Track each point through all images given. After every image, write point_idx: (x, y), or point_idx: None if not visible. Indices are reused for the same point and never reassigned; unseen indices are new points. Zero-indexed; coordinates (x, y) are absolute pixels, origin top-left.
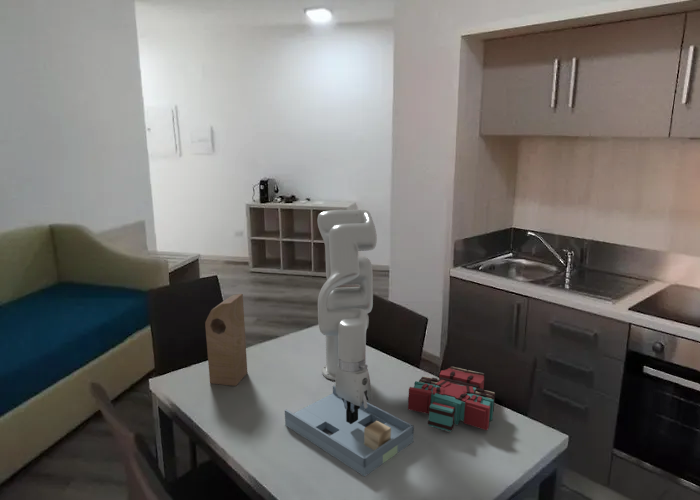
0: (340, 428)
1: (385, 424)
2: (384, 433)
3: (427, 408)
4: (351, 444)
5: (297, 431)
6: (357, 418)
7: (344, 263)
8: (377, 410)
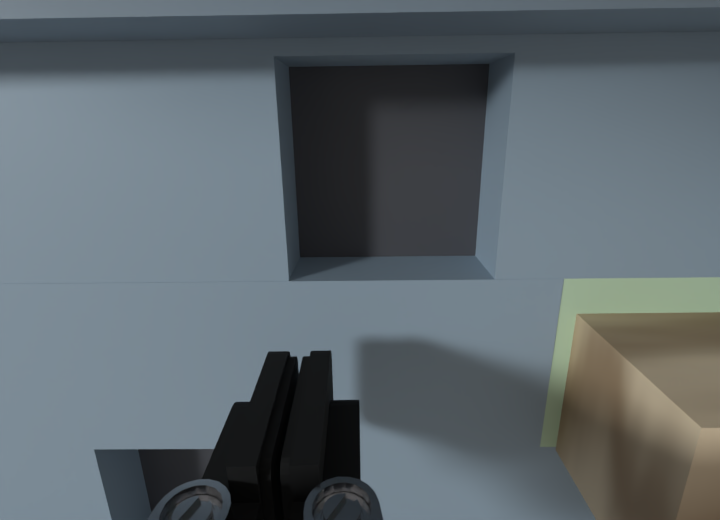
0: None
1: (531, 97)
2: None
3: None
4: (473, 503)
5: None
6: (358, 406)
7: None
8: (358, 19)
